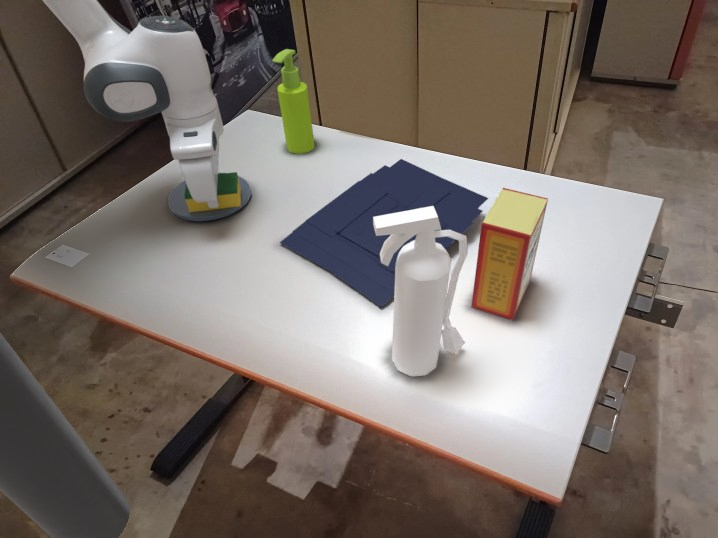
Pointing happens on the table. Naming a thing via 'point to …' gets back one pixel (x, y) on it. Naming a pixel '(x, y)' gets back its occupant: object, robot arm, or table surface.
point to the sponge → (219, 194)
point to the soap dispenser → (294, 106)
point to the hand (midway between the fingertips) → (214, 194)
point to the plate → (181, 210)
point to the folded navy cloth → (356, 231)
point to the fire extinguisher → (420, 288)
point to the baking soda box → (507, 252)
